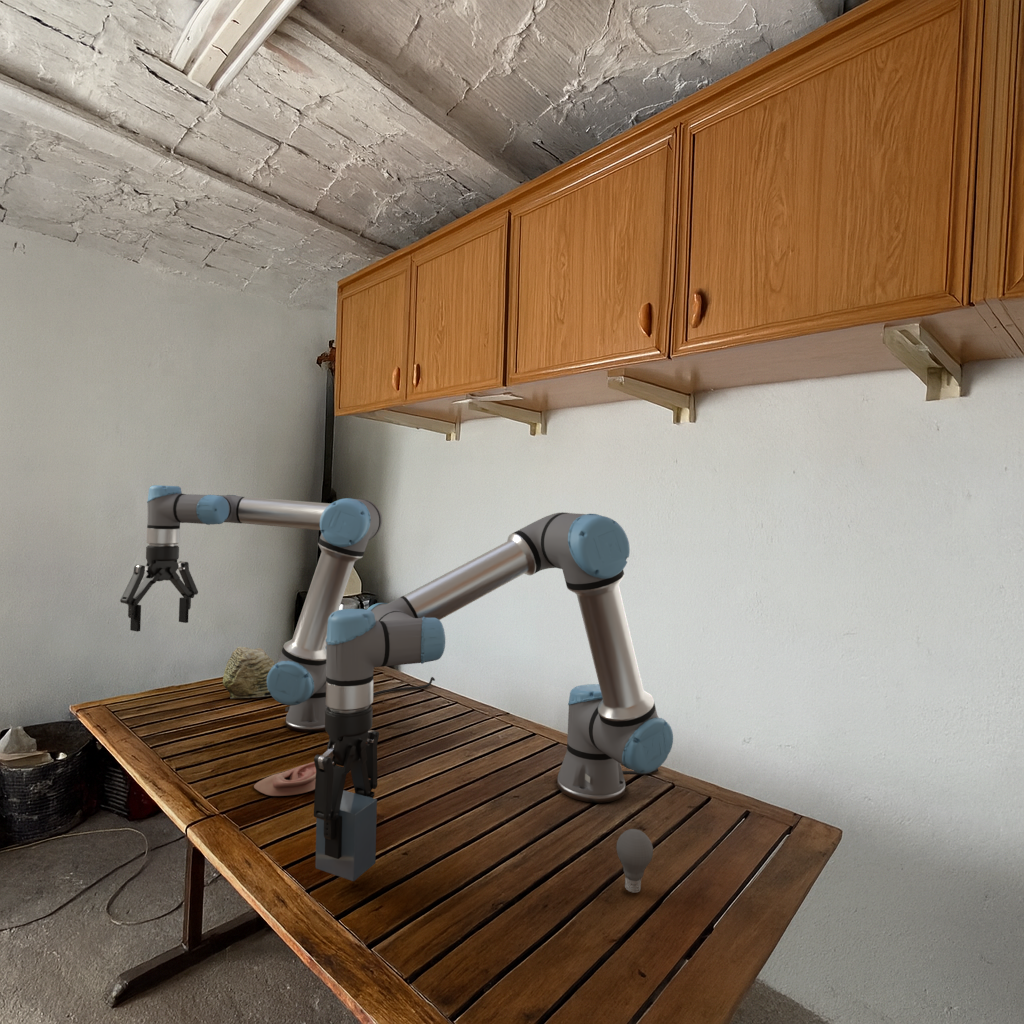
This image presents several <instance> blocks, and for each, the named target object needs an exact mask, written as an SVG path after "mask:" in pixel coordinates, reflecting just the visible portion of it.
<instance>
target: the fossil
mask: <svg viewBox="0 0 1024 1024" xmlns="http://www.w3.org/2000/svg"><path fill="white" fill-rule="evenodd" d="M275 664H276V663H275V662H274V660H273V659H272V658H271V657H270V656H269V655H268V654H267V653H266V652H265V650H264V649H263V648H260V647H258V648H251V647H247V646H246V647H245V646H238V647H237V648H236V649H235V650H233V651H232V653H231V656H230V657H229V659H228V660H227V663H226V666H225V668H224V671H223V675H222V676H223V677H222V685H223V687H224V688H225V690H226V691H228V693H229V698H230V699H250V698H264V697H272V696H271V694H270V692H269V691H268V688H267V676H268V673H269V671H270V670H271V668H272V667H273V666H274V665H275Z"/></svg>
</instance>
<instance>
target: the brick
mask: <svg viewBox="0 0 1024 1024" xmlns="http://www.w3.org/2000/svg"><path fill="white" fill-rule="evenodd" d="M331 810H332V809H331ZM377 811H378V798H374V797H373V798H370V797H367V796H363V795H359V794H356V793H355V792H352V791H348V790H345V789H344V790H343V795H342V800H341V805H340V810H339V816H342V849H341V857H340V858H339V859H336V858H333V857H330V856H327V855H325V838H324V820H322V819H319V818H316V817H315V819H316V821H315V823H316V824H315V866H314V867H315V869H316V870H320V871H321V872H324V873H328V874H330V875H334V876H337V877H340V878H343V879H345V880H348V881H351V882H355V881H356V880H357V879H359V878H360V877H361V876H362V875H363V874H364V873H366V872H367V871H368V870H369V869H370V868H372V867H373V866H374V865H375V864H376V862H377V861H376V859H377V857H376V856H377V820H378V819H377V813H378V812H377Z"/></svg>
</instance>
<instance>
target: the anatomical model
mask: <svg viewBox="0 0 1024 1024" xmlns="http://www.w3.org/2000/svg"><path fill="white" fill-rule="evenodd" d="M315 781H316V767H315V763H314V761H312V762H309V763H306V764H303V765H299V766H297V767H294V768H291V769H288V770H286V771H283V772H278V773H275V774H272V775H269V776H267V777H265V778H263V779H260V780H259V781H257V782H256V783H255V784H254V785H253V788H254V789H255V790H256V791H257V792H259V793H261V794H264V795H266V796H268V797H269V796H270V797H284V796H295V795H301V794H305V793H308V792H312V791H315Z"/></svg>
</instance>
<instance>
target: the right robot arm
mask: <svg viewBox="0 0 1024 1024" xmlns="http://www.w3.org/2000/svg"><path fill="white" fill-rule="evenodd" d="M625 531H626V530H624V528H623V526H622V525H620V523H619V522H617V521H616V520H615V519H612V518H611V517H608V516H605V515H600V514H597V513H575V512H574V513H573V512H556V513H552V514H549V515H546V516H543V517H541V518H539V519H537V520H535V521H533V522H532V523H529V524H527V525H525V526H524V527H522V528H520V529H518V530H516V531H514V532H511V533H510V534H509V535H508V536H507V541H505V542H504V543H502V544H500V545H498V546H496V547H494V548H491V549H490V550H488V551H487V552H485V553H482V554H481V555H479V556H476V557H475V558H473V559H471V560H469V561H467V562H466V563H463V564H462V565H460V566H458V567H456V568H454V569H452V570H450V571H448V572H446V573H443V574H442V575H440V576H439V577H436V578H435V579H433V580H431V581H428V582H426V583H425V584H423V585H422V586H419V587H418V588H416V589H414V590H412V591H410V592H408V593H405V594H404V595H402V596H400V597H398V598H396V599H393V600H392V601H390V602H377V603H375V604H372V605H370V606H369V607H367V609H365V608H343V609H338V611H335V612H333V613H332V614H331V615H330V616H329V618H328V626H327V638H326V705H327V706H328V707H327V708H326V710H325V732H326V734H327V735H328V742H327V746H326V751H325V752H324V753H322V754H316V755H315V756H314V758H313V762H314V763H315V767H316V781H315V789H314V800H313V817H314V818H315V819H316V818H319V819H322V820H324V838H325V855H327V856H330V857H333V858H336V859H339V858H340V857H341V849H342V816H339V810H340V805H341V800H342V795H343V790H345V789H344V788H345V784H346V779H347V775H348V774H349V773H350V774H351V779H352V784H353V790H354V793H356V794H359V795H363V796H367V797H370V798H374V797H375V795H376V794H375V791H373V790H376V789H377V787H378V741H379V737H380V732H379V731H377V730H372V728H373V717H374V715H373V714H374V713H373V710H374V707H373V706H372V704H373V702H374V696H373V693H374V676H375V675H374V670H375V668H383V667H391V666H393V667H394V666H401V665H402V666H403V665H414V664H424V663H430V662H434V661H438V660H441V658H442V656H443V655H444V652H445V648H446V632H445V627H444V625H443V623H442V621H441V620H442V619H444V618H446V617H447V616H450V615H451V614H453V613H456V612H457V611H459V610H461V609H463V608H464V607H466V606H468V605H470V604H472V603H473V602H475V601H477V600H479V599H480V598H482V597H485V596H486V595H488V594H491V593H492V592H494V591H496V590H497V589H499V588H501V587H503V586H505V585H507V584H508V583H510V582H512V581H514V580H515V579H517V578H519V577H521V576H523V575H527V576H533V575H535V574H537V573H538V572H540V571H544V570H548V569H560V570H562V574H563V578H564V581H565V585H566V588H567V590H569V591H570V592H572V593H574V594H575V595H576V598H577V601H578V602H577V603H578V605H579V606H578V607H579V609H580V613H581V617H582V621H583V626H584V630H585V634H586V638H587V642H588V647H589V650H590V654H591V657H592V658H591V659H592V662H593V665H594V670H595V674H596V678H597V681H598V682H597V683H590V684H589V683H587V684H581V685H576V686H574V687H573V688H572V689H571V690H570V692H569V698H568V702H567V706H568V715H567V716H568V717H567V737H566V739H567V741H566V752H565V755H564V758H563V760H562V763H561V766H560V768H559V770H558V775H557V782H556V785H557V788H558V790H559V791H560V792H561V793H562V794H564V795H565V796H567V797H569V798H571V799H573V800H577V801H580V802H585V803H586V802H587V803H595V804H601V803H602V804H605V803H610V802H615V801H618V800H619V799H621V798H622V797H623V796H624V795H625V793H626V780H625V779H626V778H625V776H624V775H633V776H644V775H645V776H646V775H651V774H655V773H659V771H660V770H659V768H660V767H661V766H662V765H663V764H664V763H665V762H666V760H667V759H668V756H669V754H671V751H672V749H673V748H672V747H673V743H674V733H673V728H672V726H671V725H670V723H668V722H667V720H666V719H664V718H662V717H659V714H658V712H657V708H656V704H655V700H654V697H653V695H652V694H651V693H649V692H647V691H646V690H645V689H644V685H643V680H642V676H641V672H640V669H639V664H638V660H637V656H636V651H635V647H634V642H633V639H632V634H631V629H630V626H629V621H628V618H627V614H626V609H625V604H624V601H623V596H622V592H621V588H620V583H621V582H622V581H623V579H624V578H625V571H624V570H625V568H626V566H627V563H628V561H627V560H628V558H630V551H631V549H630V541H629V537H628V535H627V533H626V532H625ZM622 766H623V767H624V768H625V769H628V770H623V769H622ZM331 809H332V810H331Z"/></svg>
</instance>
